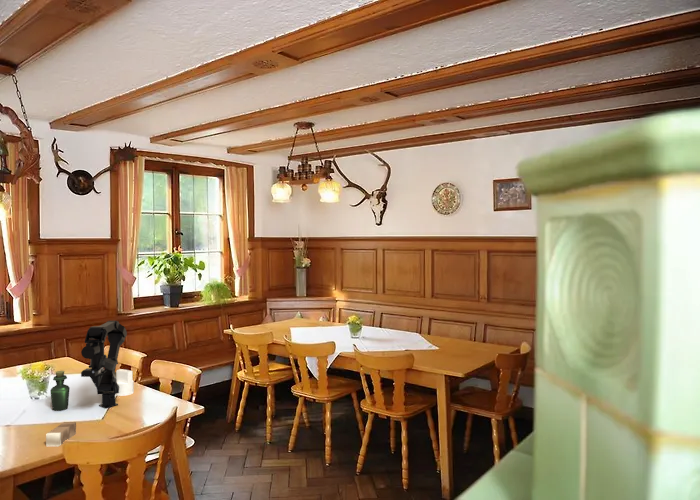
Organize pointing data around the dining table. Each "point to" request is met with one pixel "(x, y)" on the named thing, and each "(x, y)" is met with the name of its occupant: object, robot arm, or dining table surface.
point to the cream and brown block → (60, 434)
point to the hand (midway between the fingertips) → (97, 386)
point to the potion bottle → (60, 392)
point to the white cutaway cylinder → (125, 382)
